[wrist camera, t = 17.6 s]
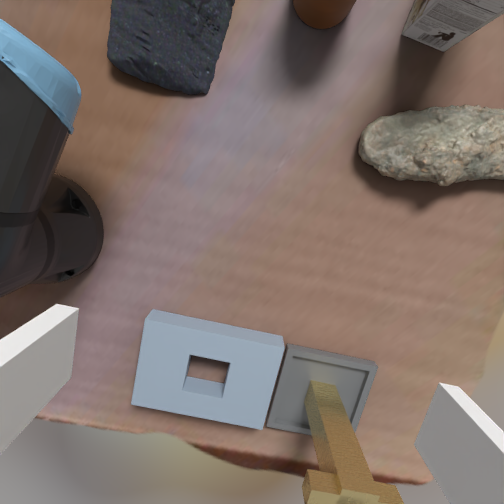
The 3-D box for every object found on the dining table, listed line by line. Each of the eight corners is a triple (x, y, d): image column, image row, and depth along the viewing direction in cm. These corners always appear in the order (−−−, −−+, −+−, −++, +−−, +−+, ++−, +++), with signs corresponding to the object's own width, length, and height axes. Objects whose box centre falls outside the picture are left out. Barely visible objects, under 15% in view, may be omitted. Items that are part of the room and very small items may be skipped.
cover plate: (139, 389, 51) (131, 404, 48) (152, 309, 48) (145, 319, 45) (261, 413, 52) (262, 429, 49) (282, 336, 49) (284, 347, 46)
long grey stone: (593, 189, 46) (607, 115, 44) (639, 188, 40) (657, 105, 39) (352, 185, 44) (357, 108, 42) (368, 184, 38) (375, 95, 37)
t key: (285, 398, 51) (303, 514, 33) (291, 376, 50) (313, 483, 32) (346, 410, 51) (395, 531, 34) (353, 388, 50) (408, 501, 33)
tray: (266, 419, 52) (266, 426, 51) (287, 343, 49) (288, 348, 48) (348, 435, 53) (351, 443, 51) (374, 361, 50) (378, 366, 48)
